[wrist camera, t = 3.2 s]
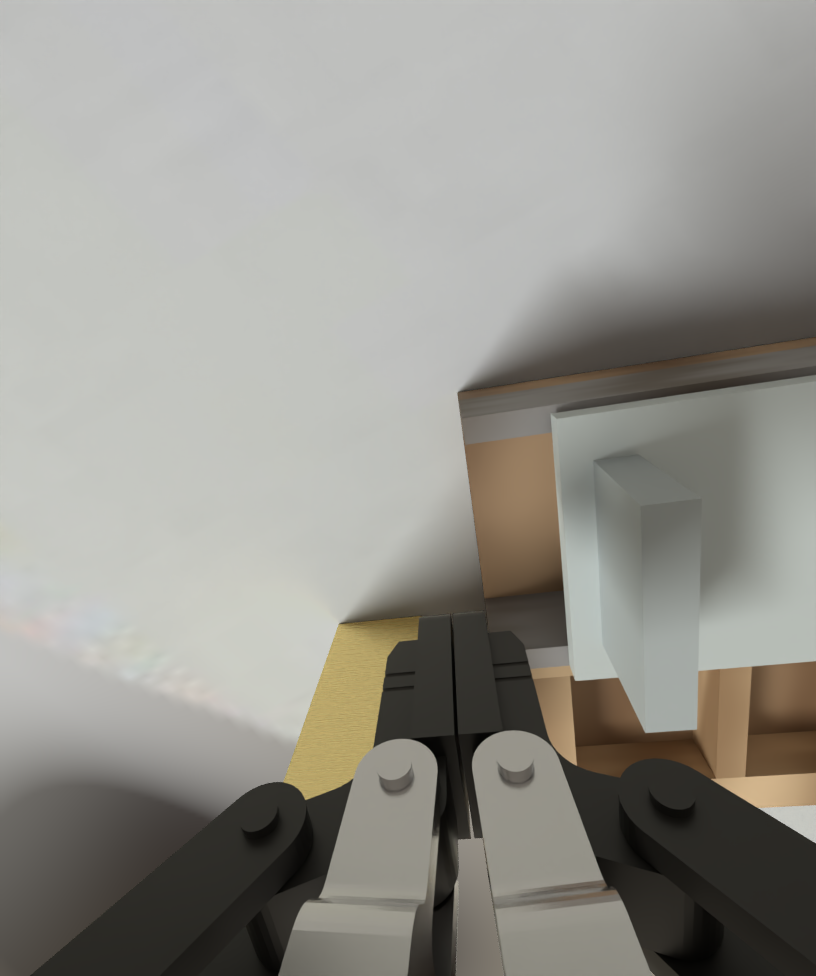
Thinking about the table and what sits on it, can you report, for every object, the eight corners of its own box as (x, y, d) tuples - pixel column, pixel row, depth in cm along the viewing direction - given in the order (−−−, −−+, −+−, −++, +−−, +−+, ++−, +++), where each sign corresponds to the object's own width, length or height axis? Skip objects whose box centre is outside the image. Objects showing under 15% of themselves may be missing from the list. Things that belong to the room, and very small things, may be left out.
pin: (421, 615, 23) (405, 819, 14) (434, 685, 24) (426, 917, 15) (338, 624, 24) (267, 827, 14) (355, 692, 25) (299, 920, 15)
